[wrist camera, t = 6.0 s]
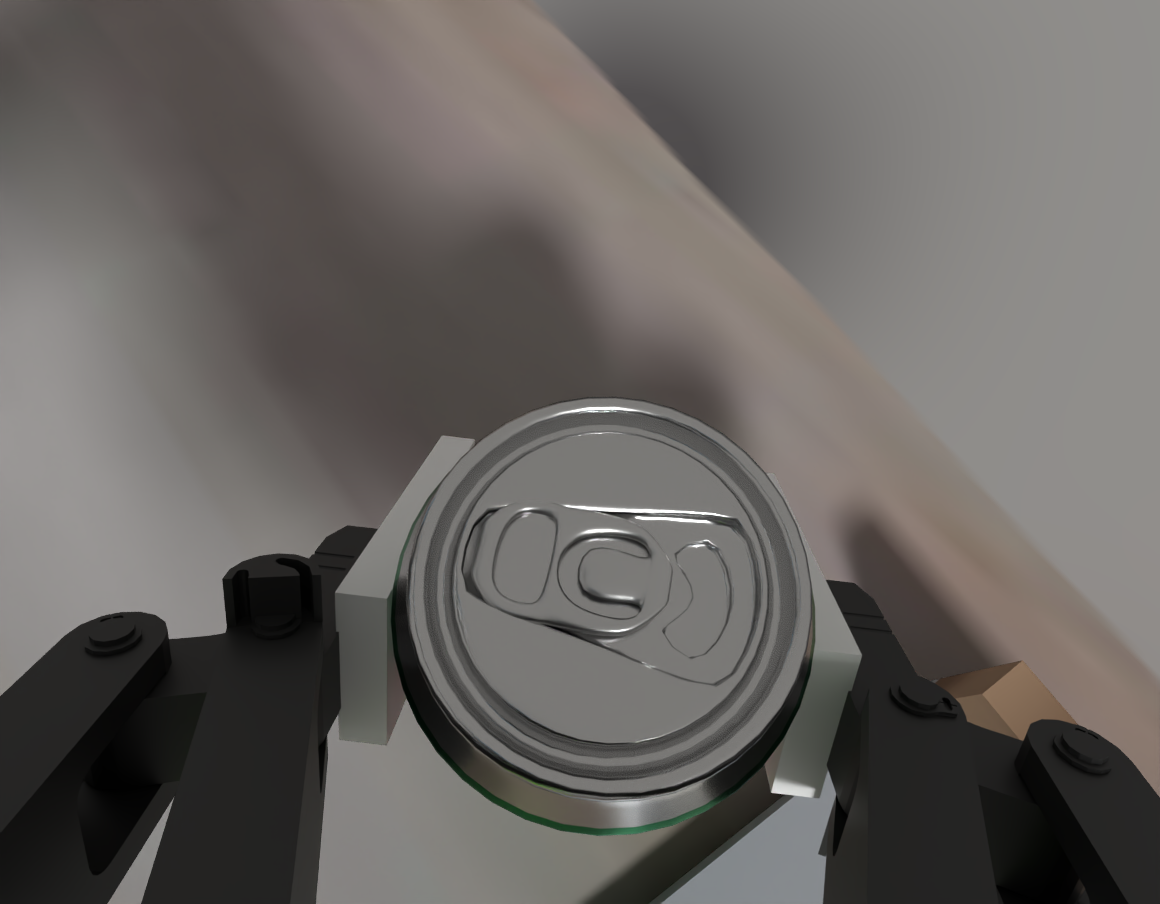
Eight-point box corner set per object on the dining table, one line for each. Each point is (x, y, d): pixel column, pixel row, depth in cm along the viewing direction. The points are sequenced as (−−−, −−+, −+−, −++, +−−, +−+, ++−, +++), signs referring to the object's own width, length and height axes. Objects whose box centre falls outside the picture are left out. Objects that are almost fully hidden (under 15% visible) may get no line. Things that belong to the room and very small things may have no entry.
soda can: (660, 815, 18) (837, 902, 7) (457, 770, 18) (296, 781, 7) (689, 609, 20) (861, 410, 8) (506, 571, 20) (443, 331, 9)
